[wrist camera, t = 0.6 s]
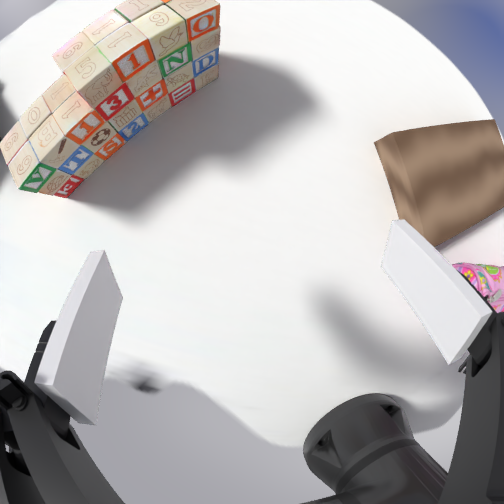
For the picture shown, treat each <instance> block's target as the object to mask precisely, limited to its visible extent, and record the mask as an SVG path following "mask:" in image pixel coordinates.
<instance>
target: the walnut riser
mask: <svg viewBox="0 0 504 504" xmlns="http://www.w3.org/2000/svg"><path fill="white" fill-rule="evenodd" d="M374 144H375V146H376V149H377V152H378V154H379V157H380V160H381V163H382V165H383V168H384V171H385V174H386V177H387V180H388V183H389V186H390V189H391V192H392V196H393V199H394V202H395V206H396V209H397V213H398V216H399V220H403V219H404V220H405V221H406V222H408V223H409V224H410V225H411V226H412V227H413V228H414V229H415V230H416V231H417V232H419V233H420V234H421V235H422V236H423V237H424V238H425V239H426V240H427V241H428V242H429V243H430V244H431V245H432V246H433V247H435V246H437V245H439V244H441V243H443V242H445V241H446V240H448V239H450V238H452V237H454V236H456V235H457V234H459V233H461V232H463V231H464V230H466V229H468V228H470V227H471V226H473V225H475V224H477V223H478V222H480V221H482V220H483V219H485V218H487V217H488V216H490V215H492V214H493V213H495V212H496V211H498V210H500V209H501V208H503V207H504V145H503V142H502V139H501V136H500V133H499V130H498V127H497V125H496V122H495V120H494V119H493V120H480V121H469V122H460V123H451V124H444V125H436V126H429V127H422V128H416V129H410V130H404V131H398V132H393V133H391V134H389V135H387V136H385V137H383V138H381V139H380V140H378V141H376V142H374Z"/></svg>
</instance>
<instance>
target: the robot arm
mask: <svg viewBox="0 0 504 504" xmlns="http://www.w3.org/2000/svg"><path fill="white" fill-rule="evenodd" d="M381 268H382V269H383V270H384V271H385V273H386V274H387V275H388V277H389V278H390V279H391V281H392V282H393V283H394V285H395V286H396V287H397V289H398V290H399V292H400V293H401V294H402V296H403V297H404V298H405V300H406V301H407V303H408V304H409V305H410V307H411V308H412V310H413V311H414V313H415V314H416V315H417V317H418V318H419V320H420V321H421V323H422V324H423V326H424V327H425V329H426V330H427V332H428V333H429V335H430V336H431V338H432V339H433V341H434V342H435V344H436V346H437V347H438V349H439V350H440V352H441V354H442V355H443V357H444V358H445V360H446V362H447V363H448V365H450V364H452V363H454V362H456V361H458V360H459V359H461V357H462V356H463V355H464V354H465V352H466V351H467V350H468V351H469V353H470V355H469V356H468V357H467V359H466V360H465V361H464V363H463V364H462V365H461V366H460V368H459V371H458V372H461V371H462V369H463V368H464V367H465V366H466V369H465V370H464V372H463V373H465V374H466V380H465V391H464V399H463V407H462V414H461V420H460V426H459V431H458V436H457V441H456V445H455V450H454V454H453V458H452V462H451V466H450V469H449V472H448V473H447V472H446V471H445V470H444V469H443V468H442V467H441V466H440V465H439V464H438V463H437V462H436V461H435V460H434V459H433V458H432V457H431V456H430V455H429V454H428V453H427V452H426V451H425V450H424V449H423V448H422V447H421V446H420V445H419V444H418V443H417V442H416V441H415V439H414V437H413V434H412V431H411V429H410V426H409V423H408V420H407V418H406V415H405V412H404V411H403V409H402V408H401V406H400V405H399V404H397V403H396V402H395V401H394V400H393V399H392V398H391V397H389V396H386V395H383V394H368V395H363V396H360V397H356V398H354V399H351V400H349V401H347V402H345V403H343V404H341V405H339V406H337V407H336V408H334V409H333V410H331V411H330V412H329V413H327V414H326V415H325V416H324V417H323V418H321V419H320V420H319V421H318V422H317V423H316V425H315V426H314V427H313V428H312V429H311V431H310V432H309V434H308V436H307V438H306V440H305V443H304V447H303V454H304V458H305V460H306V462H307V465H308V467H309V469H310V470H311V471H312V472H313V473H314V474H315V475H316V476H317V477H318V478H319V479H321V480H322V481H323V482H324V483H325V484H326V485H328V486H329V487H330V488H331V489H332V490H333V491H334V492H335V493H336V495H334V496H330V497H326V498H322V499H318V500H314V501H310V502H306V503H302V504H504V312H499V313H497V312H496V311H495V310H494V308H493V307H492V306H491V305H490V304H489V302H488V301H487V300H486V299H485V298H484V296H483V295H482V294H481V293H480V292H479V291H477V288H476V287H475V286H474V285H473V284H471V282H470V281H469V279H468V278H467V277H466V276H465V275H464V274H462V273H461V272H459V271H458V270H456V269H455V268H454V267H453V266H452V265H451V264H450V263H449V262H448V261H447V260H446V259H445V258H444V257H443V256H442V255H441V254H440V253H439V252H438V251H437V250H436V249H435V248H434V247H433V246H432V245H431V244H430V243H429V242H428V241H427V240H426V239H425V238H424V237H423V236H422V235H421V234H420V233H419V232H417V231H416V230H415V229H414V228H413V227H412V226H411V225H410V224H409V223H408V222H406V221H405V220H404V219H403V220H392V224H391V228H390V232H389V237H388V241H387V245H386V249H385V253H384V256H383V260H382V264H381ZM122 299H123V296H122V294H121V292H120V289H119V287H118V284H117V282H116V279H115V277H114V274H113V272H112V269H111V266H110V264H109V261H108V258H107V255H106V253H105V250H101V251H94V252H90V253H89V255H88V257H87V258H86V260H85V262H84V264H83V266H82V268H81V270H80V272H79V274H78V276H77V278H76V280H75V282H74V284H73V286H72V288H71V290H70V292H69V294H68V296H67V298H66V300H65V303H64V305H63V307H62V309H61V312H60V314H59V316H58V319H57V321H51V322H50V323H49V324H48V326H47V327H46V328H45V329H44V331H43V333H42V335H41V338H40V340H39V344H38V345H37V348H36V353H34V356H33V359H32V361H31V364H30V367H29V370H28V373H27V376H26V379H25V382H23V381H22V380H21V379H20V378H19V377H18V376H17V375H16V374H15V373H13V372H12V371H4V372H2V373H0V504H125V503H124V502H123V501H122V500H121V498H120V497H119V496H118V495H117V493H116V492H115V491H114V490H113V488H112V487H111V486H110V484H109V483H108V482H107V480H106V479H105V477H104V476H103V475H102V473H101V472H100V470H99V469H98V467H97V466H96V464H95V463H94V461H93V460H92V458H91V457H90V455H89V454H88V452H87V451H86V449H85V447H84V446H83V444H82V442H81V441H80V439H79V437H78V435H77V434H76V432H75V430H74V428H73V427H72V426H71V425H70V423H69V422H70V416H71V417H72V418H73V419H74V420H76V421H77V422H78V423H82V424H89V425H96V424H97V416H98V410H99V403H100V397H101V390H102V385H103V380H104V374H105V369H106V364H107V360H108V355H109V350H110V346H111V342H112V337H113V333H114V329H115V325H116V321H117V317H118V314H119V310H120V306H121V303H122ZM5 444H6V445H8V446H9V452H7V451H6V448H5Z"/></svg>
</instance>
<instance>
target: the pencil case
mask: <svg viewBox="0 0 504 504" xmlns="http://www.w3.org/2000/svg"><path fill="white" fill-rule="evenodd" d="M452 266H453V267H454V268H455V269H456V270H458V271H459V272H461V273H462V274H464V275H465V276H466V277H467V278H468V279H469V281H470V282H471V284H473V285H474V286H475V287H476V288H477V291H479V292H480V293H481V294H482V295H483V296H484V298H485V299H486V300H487V301H488V302H489V304H490V305H491V306H492V307H493V308H494V310H495V311H496V312H497V313H499V312H504V266H502V267H498V266H494V265H483V264H476V265H475V264H470V263H457V264H453V265H452Z"/></svg>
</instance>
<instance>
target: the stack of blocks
mask: <svg viewBox="0 0 504 504" xmlns="http://www.w3.org/2000/svg"><path fill="white" fill-rule="evenodd" d="M219 19H220V4H219V3H218V2H217V1H215V0H126V1H125V2H123V3H121V4H120V5H118V6H116V7H115V9H114V10H111V11H109V12H107V13H106V14H104V15H103V16H101V17H100V18H98V19H97V20H95V21H94V22H93V23H91V24H90V25H89V26H87V27H86V28H84V29H83V31H82V32H80V33H78V34H77V35H76V36H74V37H73V38H72V39H71V40H69V41H68V42H67V43H66V44H64V45H63V46H62V47H61V48H60V49H59V50H57V51H56V52H55V53H54V54H53V55H52V57H53V59H54V60H55V62H56V63H57V65H58V66H59V68H60V69H61V71H62V72H63V73H64V74H63V75H62V76H61V77H60V78H59V79H58V80H57V81H56V82H54V83H53V84H52V85H51V86H50V87H49V88H48V89H47V90H46V91H45V92H44V93H43V94H42V95H41V96H40V97H39V98H38V99H37V100H36V101H35V102H34V103H33V104H32V105H31V106H30V107H29V108H28V109H27V110H26V111H25V112H24V114H23V115H22V116H21V117H20V118H19V120H18V121H17V122H16V124H15V125H14V126H13V127H12V128H11V130H10V131H9V132H8V133H7V134H6V136H5V137H4V138H3V140H2V141H1V142H0V148H1V151H2V153H3V156H4V159H5V161H6V164H7V165H8V167H9V170H10V172H11V174H12V177H13V179H14V181H15V183H16V186H17V188H18V189H20V190H24V191H29V192H34V193H37V192H39V193H43V194H47V195H52V196H53V195H55V196H58V197H63V198H67V197H68V196H69V195H70V194H71V193H72V192H73V191H74V190H75V189H76V188H77V187H78V186H79V185H80V183H81V182H82V181H83V180H84V179H86V178H88V177H89V176H90V175H91V174H92V173H93V172H94V171H95V170H96V169H97V168H98V167H99V166H100V165H101V164H102V163H103V162H104V161H105V160H107V159H108V158H109V157H110V156H111V155H112V154H113V153H115V152H116V151H117V150H118V149H119V148H120V147H122V146H123V145H124V144H125V143H126V141H128V140H129V139H130V138H131V137H133V136H134V135H135V134H136V133H138V132H139V131H140V130H141V129H143V128H144V127H145V126H147V125H148V124H149V123H150V122H151V121H153V120H154V119H155V118H157V117H158V116H159V115H161V114H162V113H163V112H165V111H166V110H168V109H169V108H170V107H172V106H174V105H176V104H177V103H179V102H180V101H182V100H183V99H185V98H186V97H188V96H189V95H191V94H192V93H194V92H195V91H197V90H199V89H200V88H202V87H204V86H205V85H207V84H209V83H210V82H212V81H214V80H215V79H217V78H218V67H219V65H218V54H219V45H220V26H219Z"/></svg>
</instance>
